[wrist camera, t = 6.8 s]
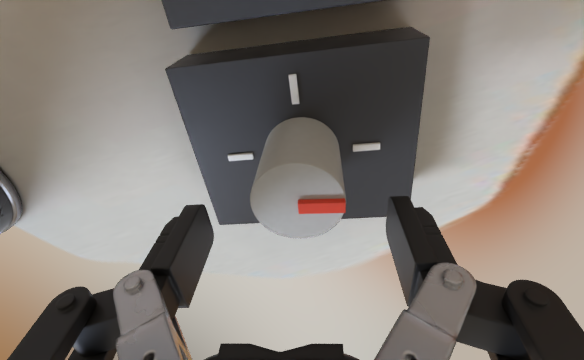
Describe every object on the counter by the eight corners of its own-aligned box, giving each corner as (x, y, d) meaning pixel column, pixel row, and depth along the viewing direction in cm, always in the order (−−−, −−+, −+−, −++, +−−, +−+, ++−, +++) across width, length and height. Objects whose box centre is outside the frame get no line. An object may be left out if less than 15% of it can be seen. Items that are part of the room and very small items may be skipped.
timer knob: (269, 183, 17) (256, 244, 14) (259, 118, 15) (240, 169, 11) (339, 181, 17) (345, 243, 13) (339, 114, 15) (347, 165, 11)
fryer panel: (230, 197, 22) (218, 226, 20) (187, 54, 17) (163, 69, 14) (397, 187, 21) (409, 217, 18) (411, 26, 15) (431, 37, 13)
